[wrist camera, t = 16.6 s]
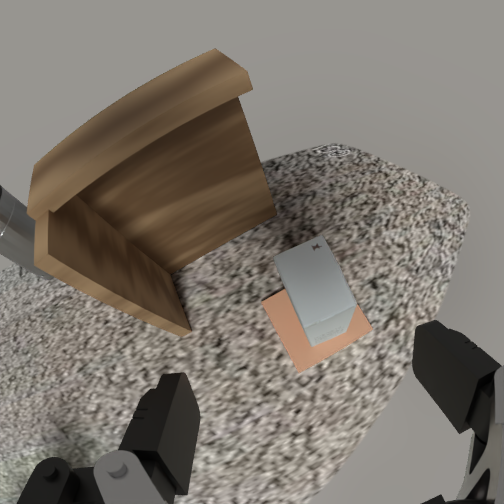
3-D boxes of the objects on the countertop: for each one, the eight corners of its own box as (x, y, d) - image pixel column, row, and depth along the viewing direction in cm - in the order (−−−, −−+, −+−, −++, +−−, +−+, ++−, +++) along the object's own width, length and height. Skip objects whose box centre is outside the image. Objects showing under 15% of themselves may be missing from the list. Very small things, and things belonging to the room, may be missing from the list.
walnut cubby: (158, 270, 39) (34, 165, 19) (271, 206, 39) (215, 48, 19) (181, 336, 34) (23, 258, 14) (311, 266, 34) (279, 96, 14)
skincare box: (290, 299, 32) (270, 253, 22) (325, 284, 32) (323, 231, 22) (310, 349, 29) (302, 329, 19) (348, 333, 29) (360, 303, 19)
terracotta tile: (262, 303, 34) (261, 302, 33) (330, 264, 34) (330, 262, 33) (299, 373, 29) (298, 372, 29) (372, 330, 29) (373, 329, 29)
